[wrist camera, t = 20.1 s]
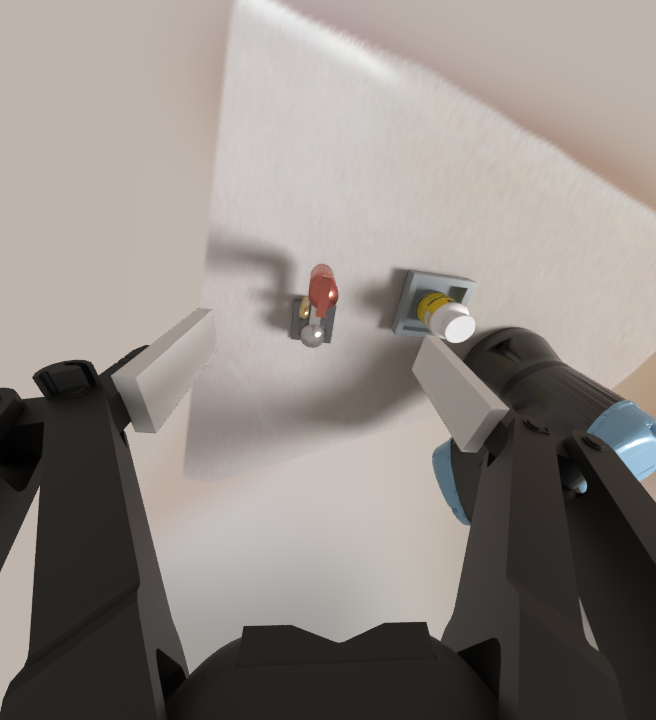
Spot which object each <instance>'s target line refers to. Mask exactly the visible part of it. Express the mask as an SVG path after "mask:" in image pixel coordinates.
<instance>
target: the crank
mask: <svg viewBox="0 0 656 720" xmlns="http://www.w3.org/2000/svg"><path fill="white" fill-rule="evenodd" d="M337 300H338V290H337V286H336V283H335V279H334V275H333V271H332V269H331V268H330V267H329V266H328V265H326V264H318V265H316V266H315V267H314V268H313V269H312V271H311V277H310V286H309V301H310V303H311V304H312V305H311V312H310V318H309V323H306V324H305V325H304V326H303V327H302V330H301V336H300V337H301V341H302V343H303V344H304V345H306V346H307V347H312V348H313V347H318V346H319V345H321V344H322V343H323V341H324V330H323V328H322V326H321V325H320V320H321V318H325V316H326V311H327V310H328V309H330V308H332V307H333V306H334V305H335V304H336V302H337Z"/></svg>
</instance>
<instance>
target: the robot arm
mask: <svg viewBox="0 0 656 720" xmlns="http://www.w3.org/2000/svg"><path fill="white" fill-rule="evenodd" d="M216 352H217V343H216V335H215V327H214V320H213V312H212V310H211V309H202V308H198V309H196V310H195V311H194V312H193V313H191V314H190V315H189V316H188V317H186V318H185V319H184V320H182V321H181V322H180V323H178V324H177V325H176V326H175V327H173V328H172V329H171V330H169V331H168V332H167V333H166V334H164V335H163V336H162V337H161V338H159V339H158V340H156V341H155V342H154V343H153V344H151V345H145V346H142V347H140V348H137V349H135V350H133V351H132V352H130V353H129V354H127V355H126V356H125V358H122V359H120V360H119V361H118V363H115V364H114V365H113V366H111V367H110V368H108V369H107V370H105V371H104V372H103V373H101V374H100V375H99V376H98V374H97V372H96V370H95V368H94V366H93V364H92V363H91V362H89V361H86V360H71V361H63V362H59V363H55V364H52V365H49V366H47V367H44V368H42V369H41V370H39V371H38V372H36V373H35V374H34V376H33V380H34V381H35V383H36V384H37V386H38V387H39V389H40V390H41V392H42V393H43V395H44V396H45V397H39V398H30V399H21V398H20V396H19V395H18V394H17V392H16V391H15V390H14V389H10V388H0V571H1V569H2V567H3V565H4V562H5V560H6V558H7V556H8V554H9V551H10V549H11V547H12V545H13V543H14V541H15V538H16V536H17V534H18V532H19V530H20V527H21V525H22V523H23V521H24V519H25V516H26V514H27V512H28V510H29V507H30V505H31V503H32V501H33V499H34V497H35V495H36V492H37V490H38V488H39V486H40V495H39V511H38V526H37V539H36V540H37V541H36V554H35V569H34V585H33V598H32V614H31V629H30V643H29V652H28V658H27V660H26V663H25V665H24V667H23V668H22V670H21V671H20V672H19V673H18V674H17V675H16V676H15V678H14V679H13V680H12V681H11V682H10V684H9V686H8V689H7V691H6V693H5V696H4V698H3V702H2V707H1V711H0V720H656V502H655V501H654V500H653V499H652V497H651V496H650V495H649V494H648V492H647V491H646V490H645V489H644V487H643V486H642V485H641V483H640V481H641V480H643V479H644V478H646V477H647V476H649V475H650V474H651V473H652V472H654V471H655V470H656V419H655V418H653V417H652V416H650V415H648V414H647V413H645V412H644V411H642V410H641V409H640V408H639V407H638V406H637V405H636V404H635V403H633V402H631V401H629V400H626V399H624V398H622V397H621V396H619V395H617V394H616V393H614V392H612V391H611V390H609V389H607V388H605V387H604V386H602V385H600V384H599V383H597V382H595V381H594V380H592V379H590V378H588V377H587V376H585V375H583V374H582V373H580V372H578V371H577V370H575V369H573V368H571V367H570V366H568V365H566V364H565V363H563V362H562V361H561V359H560V358H559V357H558V355H557V354H556V353H555V352H554V350H553V349H552V348H551V346H550V345H549V344H548V342H547V341H546V340H545V339H544V338H542V337H541V336H539V335H538V334H536V333H534V332H532V331H530V330H528V329H523V328H511V329H506V330H502V331H499V332H496V333H494V334H492V335H490V336H488V337H487V338H485V339H484V340H482V341H481V342H479V343H478V344H477V345H476V346H475V347H474V348H473V349H472V350H471V351H470V353H469V354H468V355H467V357H466V359H465V361H464V363H463V362H462V361H461V360H460V359H459V358H458V357H457V356H456V355H455V354H454V353H453V352H452V351H451V350H450V349H449V347H448V346H447V345H446V344H445V343H444V342H443V341H442V340H441V339H440V338H439V337H438V336H434V335H425V338H424V340H423V343H422V345H421V348H420V350H419V353H418V355H417V358H416V360H415V363H414V365H413V368H412V371H413V373H414V375H415V376H416V378H417V380H418V381H419V383H420V384H421V386H422V388H423V389H424V391H425V393H426V394H427V396H428V398H429V399H430V401H431V403H432V404H433V406H434V407H435V409H436V411H437V412H438V414H439V416H440V417H441V419H442V421H443V422H444V424H445V425H446V427H447V429H448V430H449V432H450V433H451V435H452V437H451V438H450V439H449V440H448V441H447V442H445V443H443V444H442V445H440V446H439V447H437V448H436V449H435V450H434V452H433V456H432V459H433V461H432V463H433V469H434V473H435V476H436V479H437V482H438V484H439V487H440V489H441V491H442V494H443V496H444V498H445V500H446V502H447V504H448V505H449V506H450V507H451V509H452V511H453V513H454V515H455V516H456V517H457V519H458V520H459V521H461V523H463V524H465V525H469V526H471V527H470V532H469V537H468V542H467V547H466V553H465V557H464V563H463V568H462V573H461V578H460V583H459V588H458V593H457V598H456V603H455V608H454V612H453V615H452V617H451V619H450V621H449V623H448V625H447V626H446V628H445V631H444V633H443V636H442V639H441V641H439V640H437V639H436V638H434V637H432V636H430V634H429V631H428V627H427V623H426V622H400V623H383V624H381V625H379V626H377V627H374V628H372V629H370V630H368V631H366V632H364V633H362V634H360V635H358V636H355V637H353V638H351V639H349V640H347V641H345V642H341V643H337V642H334V641H331V640H329V639H326V638H323V637H321V636H318V635H316V634H313V633H311V632H308V631H305V630H303V629H300V628H298V627H295V626H292V625H272V626H244V627H243V633H242V637H241V638H239V639H236V640H234V641H232V642H230V643H229V644H227V645H225V646H223V647H222V648H220V649H219V650H217V651H216V652H215V653H213V654H212V655H211V656H210V657H208V658H207V659H206V660H205V661H204V662H203V663H202V664H200V665H199V667H198V668H196V669H195V670H194V671H193V672H192V673H191V674H190V675H189V671H188V667H187V664H186V660H185V656H184V652H183V649H182V645H181V642H180V639H179V636H178V633H177V631H176V628H175V626H174V623H173V620H172V617H171V613H170V609H169V605H168V601H167V598H166V593H165V589H164V585H163V581H162V577H161V573H160V569H159V565H158V561H157V557H156V553H155V549H154V545H153V541H152V537H151V533H150V529H149V525H148V521H147V517H146V512H145V508H144V504H143V500H142V497H141V493H140V488H139V484H138V480H137V476H136V472H135V469H134V465H133V460H132V456H131V453H130V449H129V444H128V440H127V436H126V433H125V431H124V429H125V427H126V426H127V425H128V424H129V423H130V422H131V423H132V425H133V427H134V430H135V432H146V433H157V431H158V430H159V429H160V427H161V426H162V425H163V423H164V422H165V420H166V419H167V418H168V417H169V415H170V414H171V413H172V411H173V410H174V409H175V407H176V406H177V405H178V403H179V402H180V400H181V399H182V398H183V396H184V395H185V394H186V392H187V391H188V390H189V388H190V387H191V386H192V384H193V383H194V382H195V380H196V379H197V378H198V376H199V375H200V374H201V372H202V371H203V369H204V368H205V367H206V365H207V364H208V363H209V361H210V360H211V359H212V357H213V356H214V355H215V353H216Z"/></svg>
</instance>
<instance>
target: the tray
mask: <svg viewBox="0 0 656 720" xmlns="http://www.w3.org/2000/svg"><path fill="white" fill-rule="evenodd" d="M476 284H477V282H475V281H472V280H470V279H467V278H460V277H453V276H446V275H440V274H433V273H426V272H419V271H412V270H409V272H408V275H407V278H406V281H405V285H404V288H403V291H402V294H401V298H400V301H399V304H398V307H397V311H396V314H395V317H394V320H393V323H392V327H391V329H392V331H393V332H394V334H396V335H405V336H414V337H423V338H425V335H434V334H433V333H432V332H431V331H430V330H429V329H428V328H427V327H426V326H425V325H424V324H423V323H422V322H421V321H420V320H419V319H418V318H417V316H416V314H415V306H416V303H417V301H418V299H419V298H420V297H421V296H422V295H424V294H425V293H427V292H430V291H439V292H442V293H444V294H446V295H447V296H449V297H450V298H452V299H454V300H455V301H457V302H459V303H460V304H462V305H463V306H465V307H466V305H467V303H468V301H469V299H470V296H471V294H472V292H473V290H474V288H475V286H476ZM434 336H435V335H434ZM440 339H441V340H447V339H442V338H440Z"/></svg>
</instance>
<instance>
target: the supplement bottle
mask: <svg viewBox="0 0 656 720" xmlns="http://www.w3.org/2000/svg"><path fill="white" fill-rule="evenodd" d="M415 314H416V316H417V318H418V319H419V320H420V321H421V322H422V323H423V324H424V325H425V326H426V327H427V328H428V329H429V330H430V331H431V332H432V333H433V334H434V335H435V336H438V337H439V338H442V339H447V340H448V341H449V342H452V343H459V342H463V341H465V340H466V339H468V338H469V337H470V336H471V335H472V334H473V332H474V330H475V321H474V319H473V318H472V317H470V316H469V312H468V310H467V309H466V307H465V306H463V305H462V304H460V303H459V302H457V301H455V300H454V299H452V298H450V297H449V296H447V295H446V294H444V293H442V292H439V291H430V292H427V293H425V294H424V295H422V296H421V297H420V298H419V299H418V301H417V303H416V306H415Z"/></svg>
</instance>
